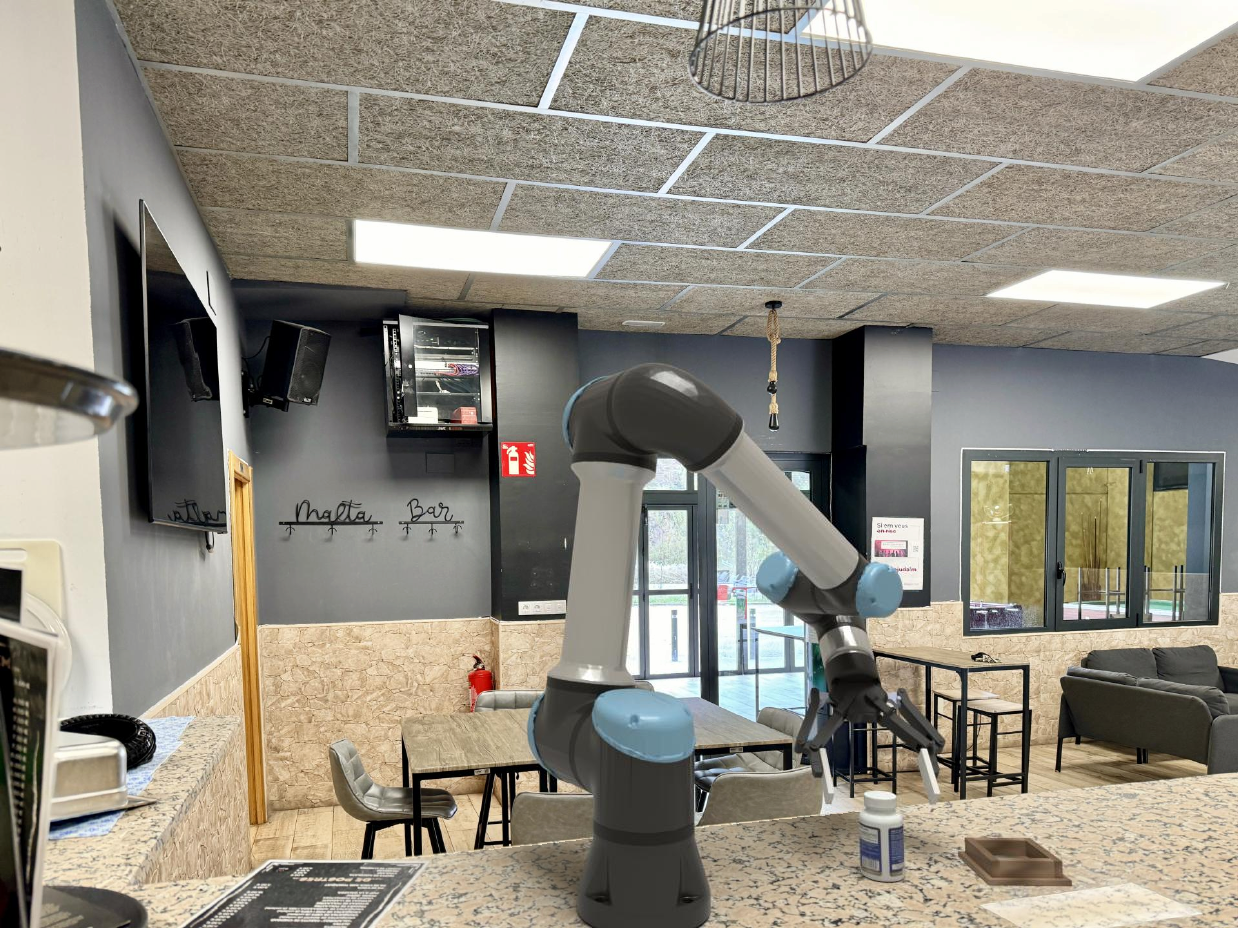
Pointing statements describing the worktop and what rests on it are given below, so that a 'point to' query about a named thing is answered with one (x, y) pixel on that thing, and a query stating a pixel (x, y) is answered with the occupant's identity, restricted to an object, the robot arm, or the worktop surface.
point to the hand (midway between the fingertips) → (882, 799)
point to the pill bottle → (881, 838)
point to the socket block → (1013, 862)
